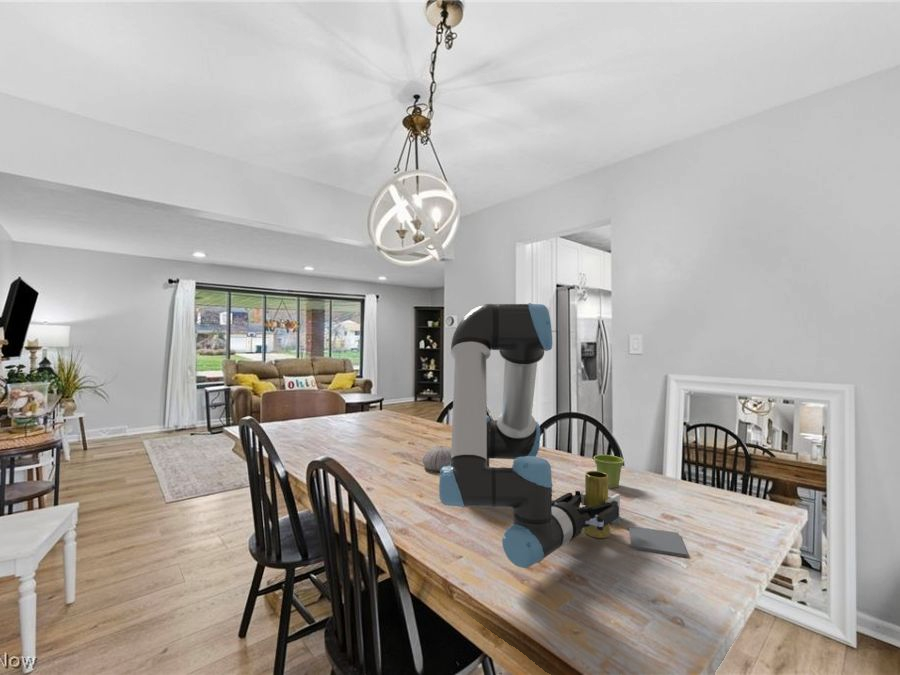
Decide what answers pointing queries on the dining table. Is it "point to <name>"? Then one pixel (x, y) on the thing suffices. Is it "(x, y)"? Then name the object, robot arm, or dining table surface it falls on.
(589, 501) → the vase
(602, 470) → the plant pot
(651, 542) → the slate mat
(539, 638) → the dining table surface
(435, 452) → the sea urchin shell
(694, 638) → the dining table surface
